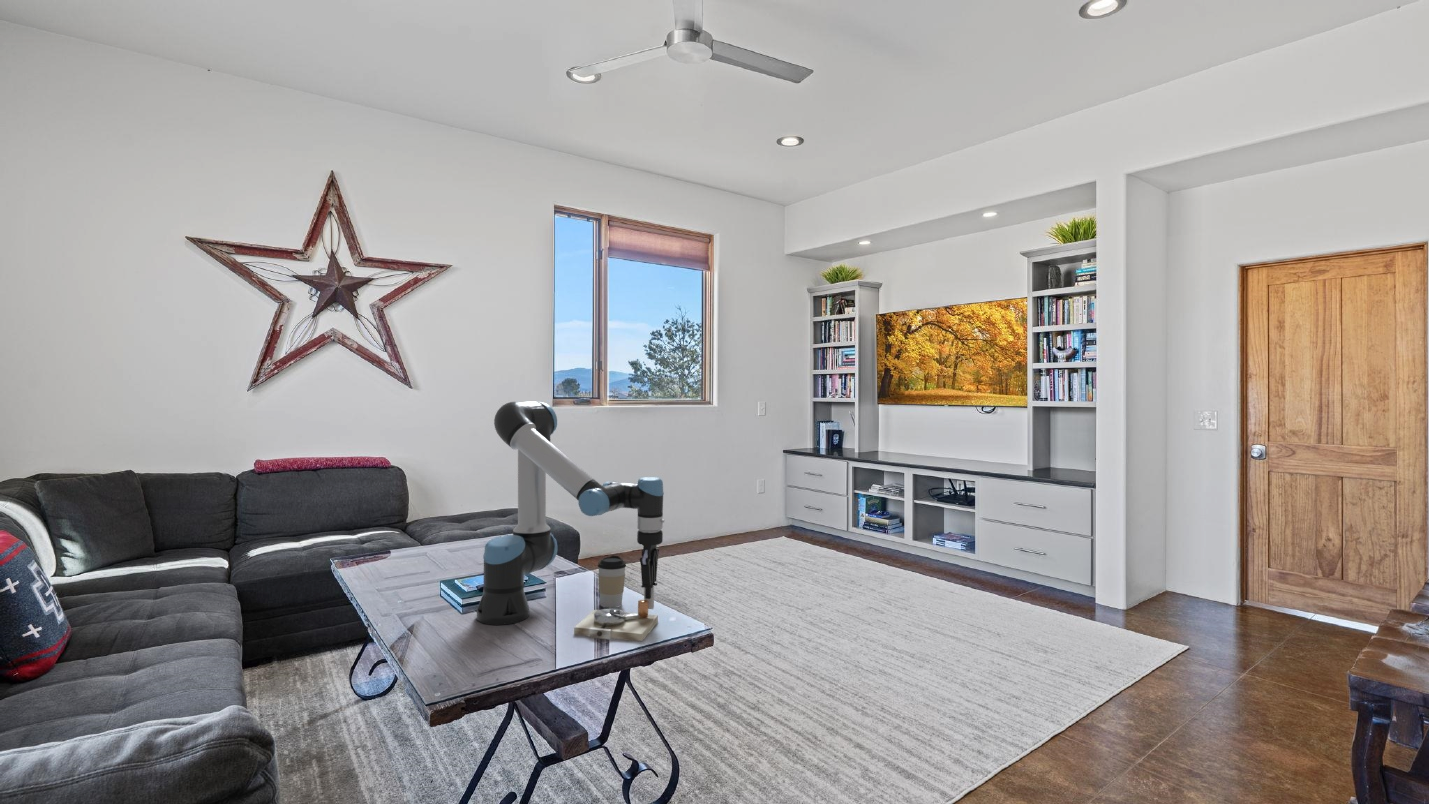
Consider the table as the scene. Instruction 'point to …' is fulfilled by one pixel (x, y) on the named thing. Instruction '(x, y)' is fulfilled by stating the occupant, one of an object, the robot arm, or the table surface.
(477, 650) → the table surface
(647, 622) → the stand
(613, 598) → the coffee cup
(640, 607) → the cam capstan
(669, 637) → the table surface
